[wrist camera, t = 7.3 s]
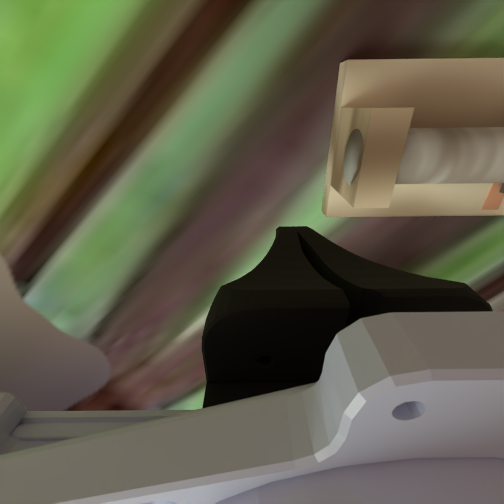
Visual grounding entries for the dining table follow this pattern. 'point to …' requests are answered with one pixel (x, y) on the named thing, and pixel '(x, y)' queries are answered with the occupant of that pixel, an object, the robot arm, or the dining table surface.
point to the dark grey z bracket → (502, 189)
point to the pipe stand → (417, 138)
